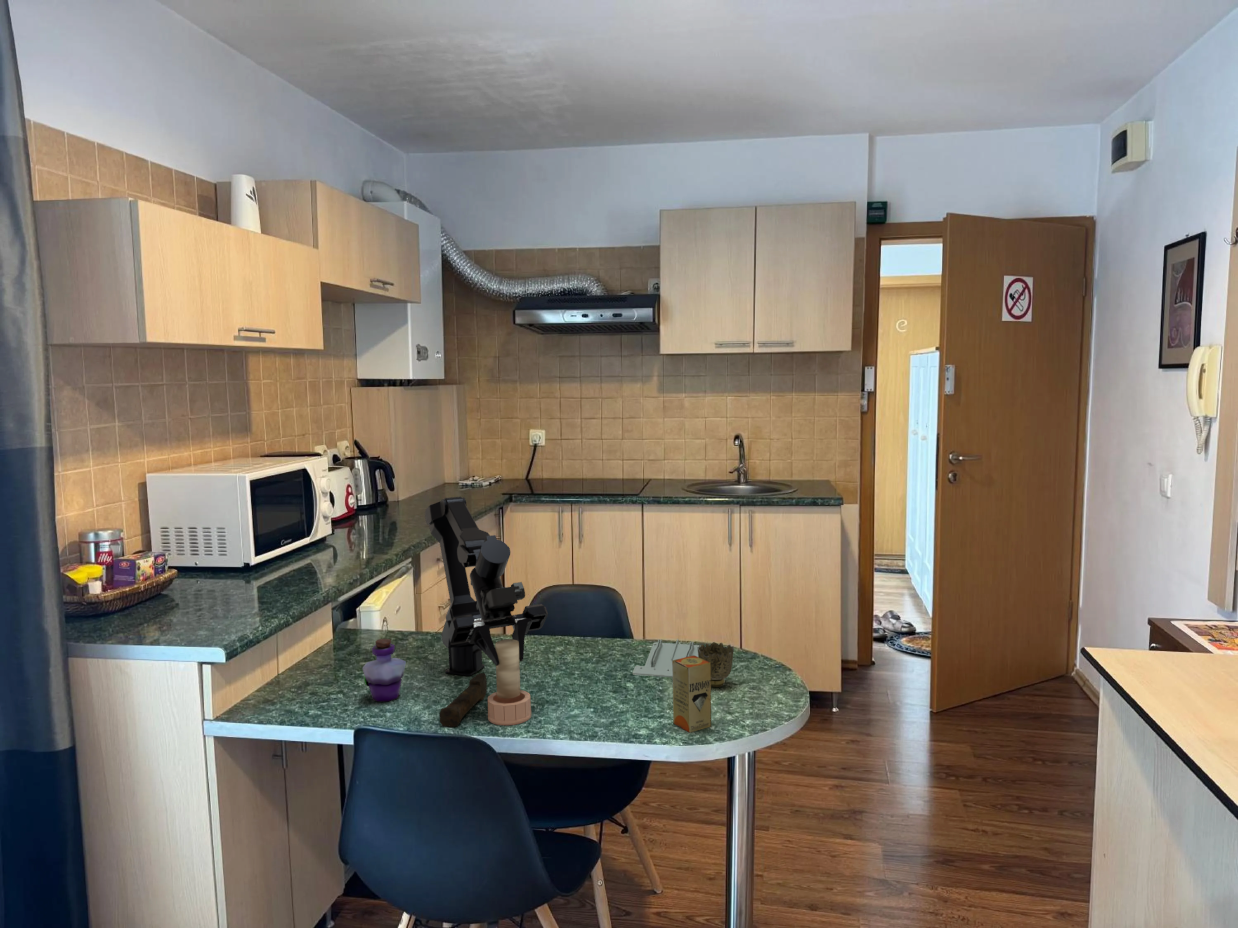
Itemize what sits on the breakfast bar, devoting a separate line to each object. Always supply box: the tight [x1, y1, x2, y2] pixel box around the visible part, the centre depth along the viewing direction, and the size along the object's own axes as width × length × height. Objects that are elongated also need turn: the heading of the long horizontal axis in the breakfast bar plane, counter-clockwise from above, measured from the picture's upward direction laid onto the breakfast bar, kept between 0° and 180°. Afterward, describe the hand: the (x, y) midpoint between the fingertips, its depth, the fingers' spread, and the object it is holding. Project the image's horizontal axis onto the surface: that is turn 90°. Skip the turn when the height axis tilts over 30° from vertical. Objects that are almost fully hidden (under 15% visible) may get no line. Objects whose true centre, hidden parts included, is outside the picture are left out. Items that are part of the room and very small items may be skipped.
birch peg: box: [494, 638, 521, 698], centre depth 160 cm, size 4×4×10 cm
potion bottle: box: [362, 638, 407, 703], centre depth 172 cm, size 9×9×12 cm
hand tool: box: [439, 672, 488, 728], centre depth 166 cm, size 19×4×5 cm, turn 166°
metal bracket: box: [632, 638, 702, 678], centre depth 186 cm, size 14×6×15 cm
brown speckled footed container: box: [698, 641, 735, 688], centre depth 175 cm, size 8×7×8 cm
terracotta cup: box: [487, 689, 532, 726], centre depth 161 cm, size 8×8×4 cm
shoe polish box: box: [672, 655, 712, 734], centre depth 155 cm, size 5×5×12 cm
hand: (509, 662), depth 159 cm, fingers closed on birch peg, 4 cm apart
